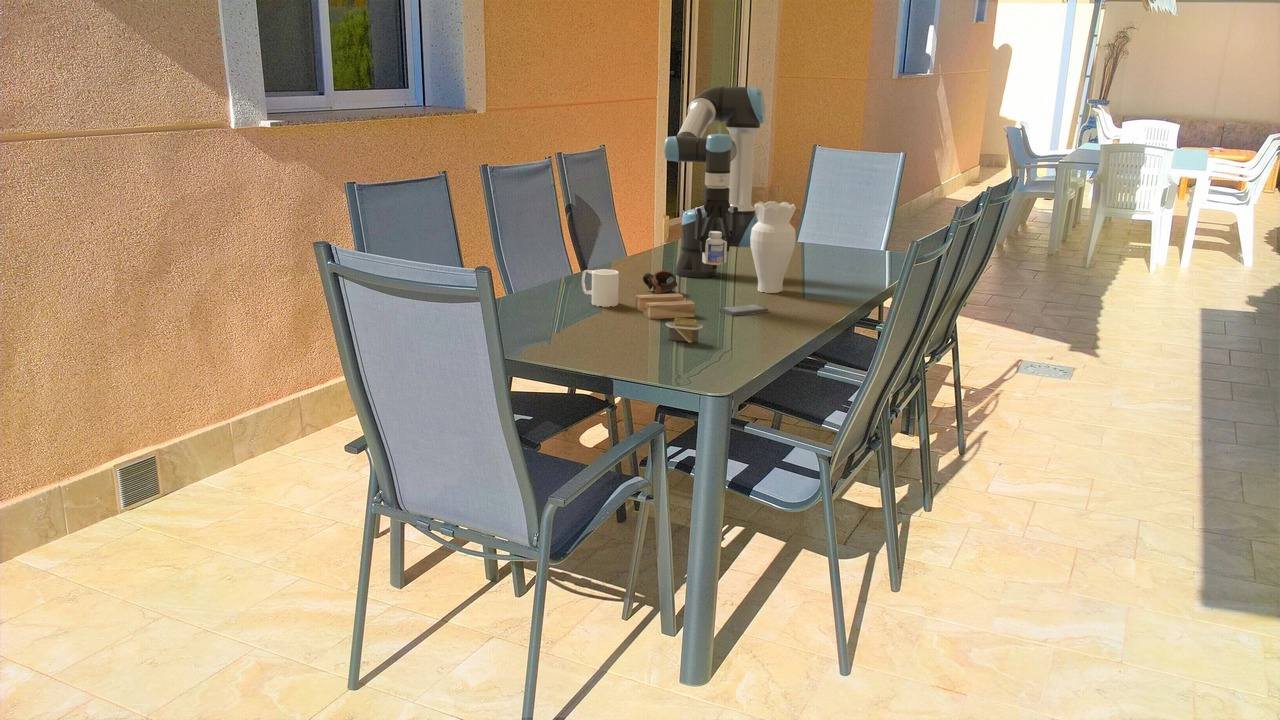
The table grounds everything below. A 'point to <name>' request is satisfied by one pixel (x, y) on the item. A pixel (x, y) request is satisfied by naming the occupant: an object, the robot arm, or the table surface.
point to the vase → (772, 243)
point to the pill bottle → (715, 248)
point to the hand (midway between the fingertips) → (714, 262)
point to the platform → (684, 330)
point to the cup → (603, 287)
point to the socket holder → (664, 306)
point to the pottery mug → (660, 281)
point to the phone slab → (743, 309)
